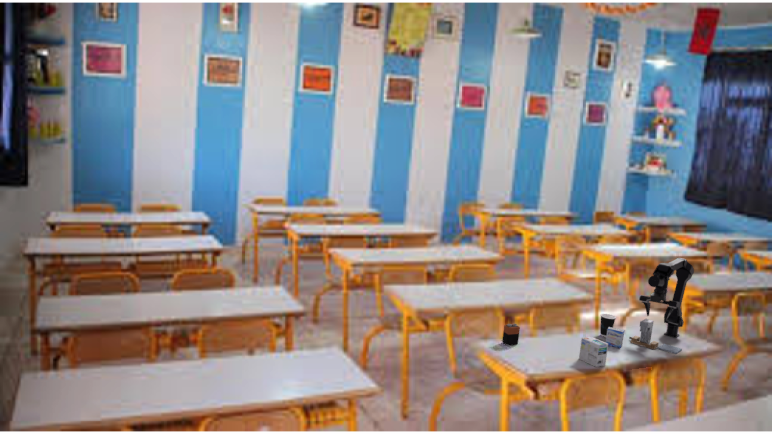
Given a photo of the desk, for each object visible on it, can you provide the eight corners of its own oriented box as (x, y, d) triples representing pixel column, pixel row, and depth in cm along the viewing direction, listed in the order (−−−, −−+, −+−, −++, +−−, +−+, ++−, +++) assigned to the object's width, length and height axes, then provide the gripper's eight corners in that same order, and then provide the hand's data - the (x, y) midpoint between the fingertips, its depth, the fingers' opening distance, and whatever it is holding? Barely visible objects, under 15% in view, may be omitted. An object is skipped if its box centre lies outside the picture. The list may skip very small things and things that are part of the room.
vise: (631, 338, 346) (631, 334, 346) (657, 346, 337) (658, 342, 337) (626, 341, 342) (627, 336, 341) (653, 349, 333) (654, 344, 332)
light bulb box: (605, 365, 304) (609, 343, 302) (596, 367, 301) (599, 345, 299) (587, 357, 313) (590, 335, 311) (578, 359, 309) (581, 337, 308)
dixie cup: (595, 335, 346) (598, 315, 344) (599, 332, 353) (602, 312, 351) (611, 339, 342) (614, 319, 340) (614, 335, 349) (617, 316, 347)
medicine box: (604, 344, 333) (607, 328, 332) (606, 342, 337) (608, 326, 336) (620, 348, 330) (623, 332, 328) (622, 346, 334) (624, 329, 332)
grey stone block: (642, 342, 342) (645, 318, 340) (649, 344, 339) (653, 320, 337) (636, 345, 336) (640, 321, 334) (644, 348, 333) (648, 323, 331)
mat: (663, 345, 341) (664, 343, 341) (681, 350, 335) (682, 348, 335) (657, 348, 334) (658, 347, 334) (676, 354, 328) (676, 352, 328)
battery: (501, 342, 323) (504, 323, 321) (512, 341, 326) (515, 322, 324) (506, 345, 319) (509, 326, 317) (518, 344, 322) (520, 325, 320)
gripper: (637, 284, 338) (633, 314, 338) (675, 290, 326) (670, 321, 326) (645, 285, 347) (640, 314, 346) (681, 291, 334) (677, 321, 334)
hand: (656, 317), depth 338 cm, fingers open, 9 cm apart
